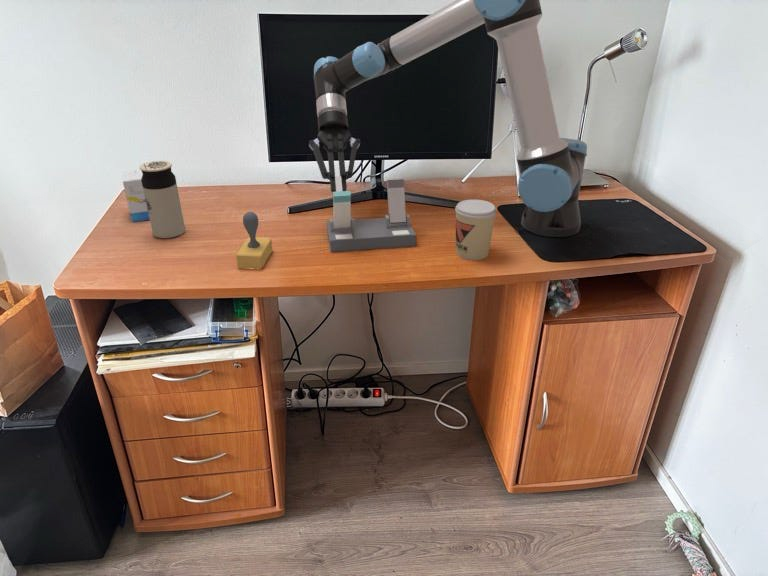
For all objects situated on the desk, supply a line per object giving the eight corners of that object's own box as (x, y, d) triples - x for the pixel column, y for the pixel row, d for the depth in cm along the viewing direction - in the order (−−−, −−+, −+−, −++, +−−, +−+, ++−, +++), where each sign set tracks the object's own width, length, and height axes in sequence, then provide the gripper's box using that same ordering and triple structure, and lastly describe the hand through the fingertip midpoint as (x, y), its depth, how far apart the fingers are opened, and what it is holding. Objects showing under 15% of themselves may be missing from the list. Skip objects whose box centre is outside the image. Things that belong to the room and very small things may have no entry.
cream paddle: (333, 224, 140) (333, 191, 132) (349, 223, 141) (350, 190, 132) (334, 228, 139) (333, 196, 131) (350, 227, 140) (350, 195, 131)
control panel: (326, 232, 146) (325, 211, 144) (406, 226, 149) (406, 206, 146) (330, 251, 136) (329, 230, 133) (415, 245, 139) (416, 224, 136)
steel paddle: (389, 223, 142) (386, 180, 140) (404, 222, 143) (402, 179, 141) (390, 224, 140) (387, 180, 139) (405, 222, 141) (403, 179, 139)
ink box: (164, 218, 155) (156, 177, 149) (131, 222, 152) (121, 181, 146) (163, 207, 162) (155, 168, 156) (131, 211, 159) (122, 171, 153)
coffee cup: (446, 248, 138) (448, 201, 132) (479, 242, 141) (483, 196, 135) (463, 264, 130) (467, 216, 124) (499, 258, 133) (504, 210, 127)
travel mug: (185, 225, 150) (172, 159, 142) (185, 236, 144) (172, 168, 135) (153, 228, 148) (139, 161, 139) (152, 240, 142) (137, 171, 133)
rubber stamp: (249, 250, 137) (243, 203, 131) (272, 250, 137) (267, 204, 131) (237, 269, 129) (230, 220, 123) (262, 269, 128) (256, 221, 122)
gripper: (357, 124, 146) (365, 208, 140) (306, 125, 144) (313, 211, 139) (359, 107, 139) (368, 196, 133) (306, 109, 137) (312, 198, 131)
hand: (340, 203), depth 136 cm, fingers closed
